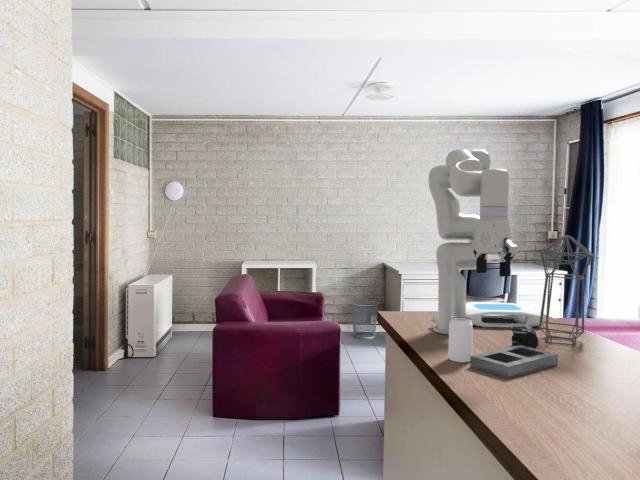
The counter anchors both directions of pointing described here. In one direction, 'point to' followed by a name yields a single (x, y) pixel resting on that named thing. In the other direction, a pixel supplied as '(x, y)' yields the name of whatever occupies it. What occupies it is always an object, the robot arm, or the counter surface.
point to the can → (460, 339)
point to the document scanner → (502, 314)
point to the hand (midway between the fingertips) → (492, 274)
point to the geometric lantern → (586, 254)
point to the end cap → (524, 336)
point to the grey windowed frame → (513, 361)
